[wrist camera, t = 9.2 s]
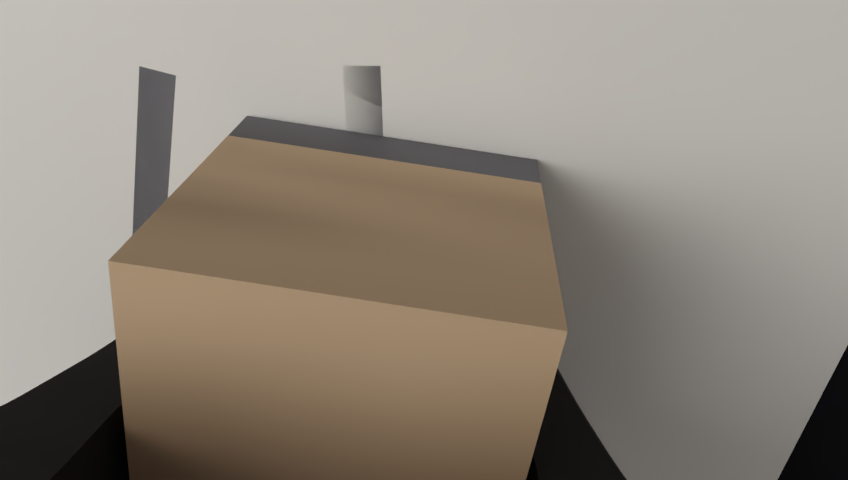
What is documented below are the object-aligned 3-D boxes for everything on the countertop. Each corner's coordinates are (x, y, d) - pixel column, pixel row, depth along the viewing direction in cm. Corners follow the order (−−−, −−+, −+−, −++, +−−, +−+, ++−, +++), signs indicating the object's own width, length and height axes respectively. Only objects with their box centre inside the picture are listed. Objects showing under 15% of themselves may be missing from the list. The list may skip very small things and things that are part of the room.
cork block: (458, 512, 13) (447, 755, 9) (243, 478, 13) (152, 709, 9) (537, 159, 10) (567, 332, 6) (247, 116, 10) (108, 260, 6)
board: (641, 665, 16) (652, 719, 15) (-354, 507, 17) (-410, 551, 16) (989, -65, 9) (1055, -56, 8) (-842, -337, 9) (-1015, -364, 8)
